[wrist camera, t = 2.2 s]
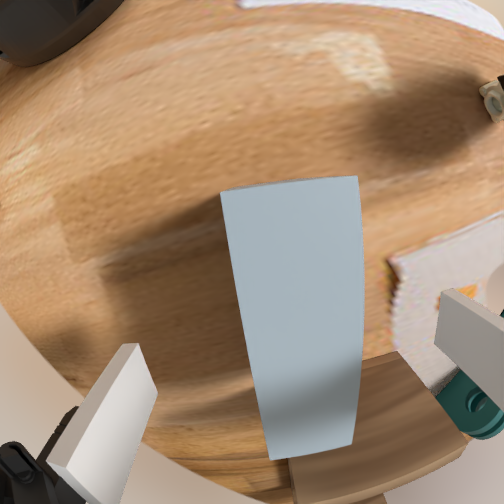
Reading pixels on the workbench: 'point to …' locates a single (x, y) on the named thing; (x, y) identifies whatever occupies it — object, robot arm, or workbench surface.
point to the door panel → (300, 306)
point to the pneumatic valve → (494, 98)
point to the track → (381, 440)
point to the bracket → (471, 407)
